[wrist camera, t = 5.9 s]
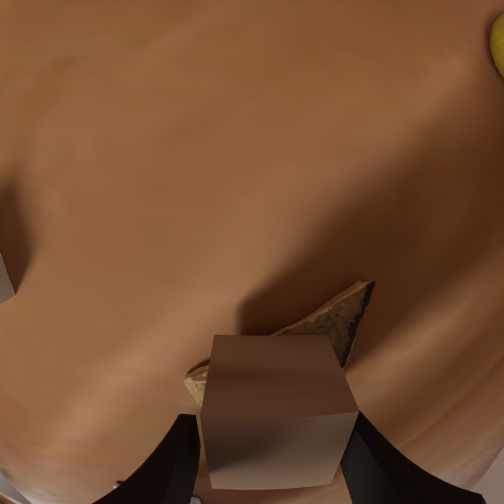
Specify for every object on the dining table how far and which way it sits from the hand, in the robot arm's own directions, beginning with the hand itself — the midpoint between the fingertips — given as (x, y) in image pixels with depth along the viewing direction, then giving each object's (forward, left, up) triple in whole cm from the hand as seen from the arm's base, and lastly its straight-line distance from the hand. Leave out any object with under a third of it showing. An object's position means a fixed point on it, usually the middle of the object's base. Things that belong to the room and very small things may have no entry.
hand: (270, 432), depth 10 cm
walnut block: (0, 0, -3) cm, 3 cm away
